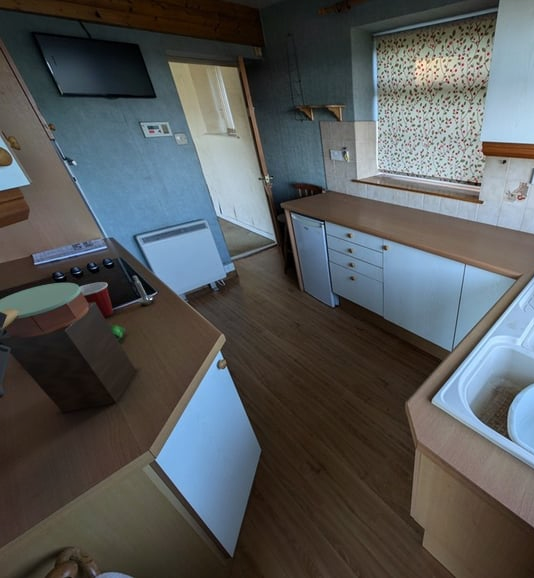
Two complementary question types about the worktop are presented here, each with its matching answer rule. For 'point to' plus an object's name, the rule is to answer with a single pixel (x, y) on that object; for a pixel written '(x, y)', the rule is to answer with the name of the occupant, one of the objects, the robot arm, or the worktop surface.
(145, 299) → the screw
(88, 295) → the plastic cup
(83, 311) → the plinth
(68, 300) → the green flat oval disc
